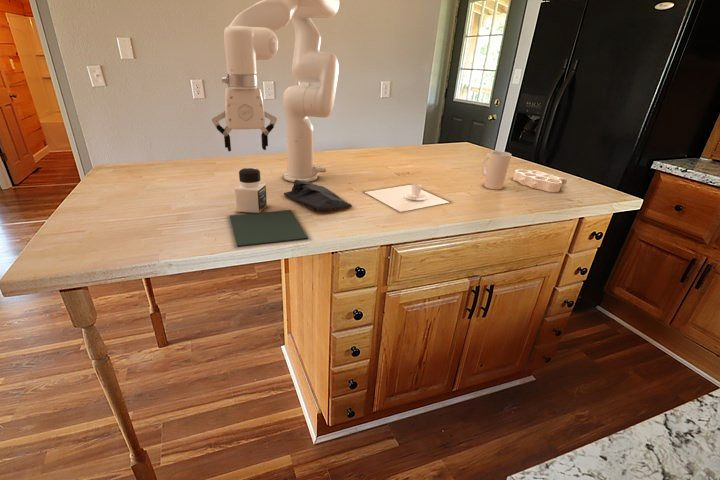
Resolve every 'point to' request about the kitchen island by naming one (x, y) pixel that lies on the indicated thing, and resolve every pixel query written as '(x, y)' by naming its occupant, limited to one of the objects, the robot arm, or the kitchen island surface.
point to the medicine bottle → (250, 191)
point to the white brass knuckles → (539, 180)
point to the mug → (496, 169)
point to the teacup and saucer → (406, 197)
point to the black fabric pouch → (315, 197)
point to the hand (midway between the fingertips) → (246, 149)
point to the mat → (266, 228)
